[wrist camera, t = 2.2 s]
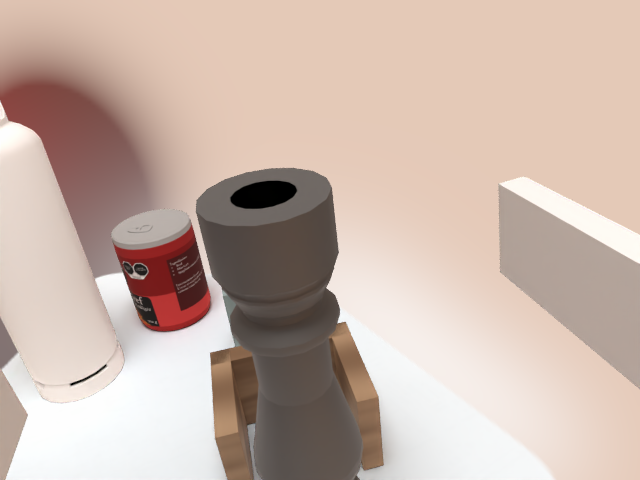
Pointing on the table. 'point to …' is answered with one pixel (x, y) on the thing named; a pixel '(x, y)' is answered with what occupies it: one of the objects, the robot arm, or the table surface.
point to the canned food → (162, 268)
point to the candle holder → (284, 316)
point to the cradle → (242, 394)
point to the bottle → (48, 278)
